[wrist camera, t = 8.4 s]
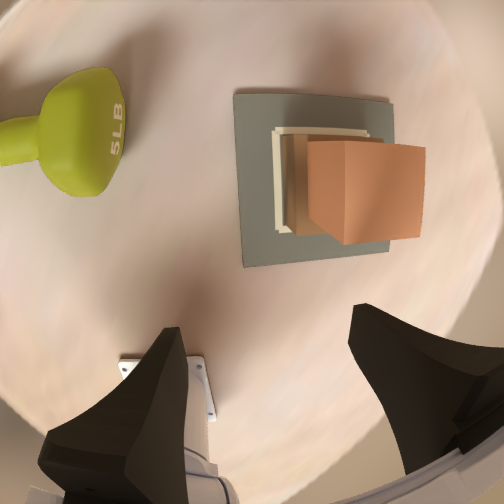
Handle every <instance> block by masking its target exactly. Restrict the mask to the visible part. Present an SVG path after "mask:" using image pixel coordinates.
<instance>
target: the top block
mask: <svg viewBox="0 0 504 504" xmlns="http://www.w3.org/2000/svg"><path fill="white" fill-rule="evenodd" d="M307 165H308V218H309V219H311V220H312V221H313V222H315V223H316V224H317V225H318V226H320V227H321V228H322V229H324V230H325V231H326V232H328V233H329V234H330V235H331V236H333V237H334V238H335V239H337V240H338V241H339V242H340V243H342V244H343V245H347V244H357V243H367V242H377V241H387V240H397V239H407V238H417V237H420V233H421V224H422V214H423V202H424V186H425V147H417V146H409V145H399V144H389V143H376V142H361V141H311V142H307Z"/></svg>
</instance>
